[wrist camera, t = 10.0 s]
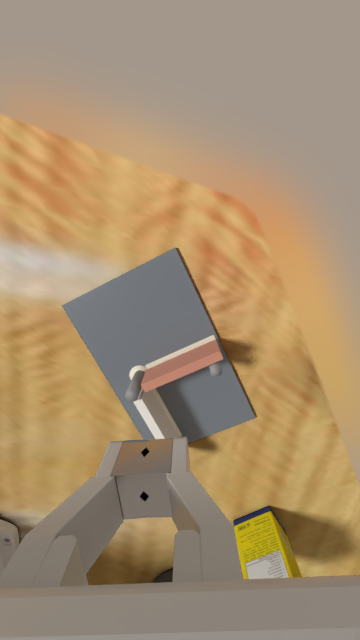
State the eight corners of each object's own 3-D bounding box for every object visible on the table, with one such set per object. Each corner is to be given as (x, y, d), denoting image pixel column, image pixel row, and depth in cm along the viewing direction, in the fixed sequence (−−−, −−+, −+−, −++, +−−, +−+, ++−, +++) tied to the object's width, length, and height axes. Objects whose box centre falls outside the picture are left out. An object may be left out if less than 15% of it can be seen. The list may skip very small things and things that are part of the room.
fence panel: (150, 376, 29) (145, 392, 25) (146, 369, 28) (140, 384, 25) (219, 346, 27) (223, 359, 24) (215, 339, 27) (219, 350, 24)
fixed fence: (248, 418, 31) (259, 446, 26) (175, 446, 32) (173, 478, 27) (209, 337, 28) (213, 353, 23) (132, 371, 29) (121, 393, 25)
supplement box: (250, 545, 36) (276, 664, 26) (232, 519, 35) (251, 632, 24) (286, 531, 35) (329, 648, 25) (269, 504, 34) (306, 615, 24)
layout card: (254, 416, 31) (255, 418, 30) (154, 454, 32) (154, 457, 32) (175, 247, 26) (175, 247, 25) (63, 305, 28) (61, 305, 27)
